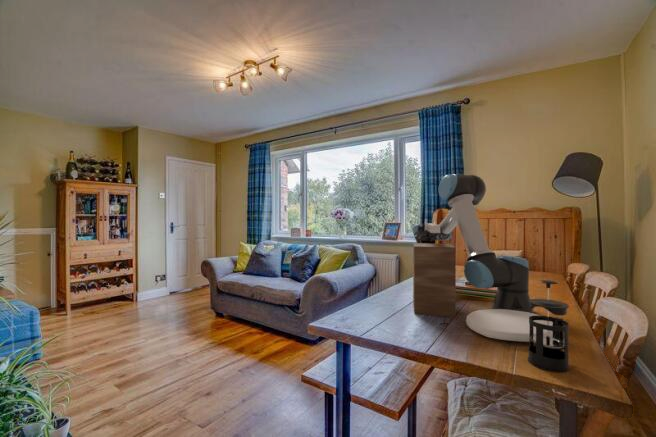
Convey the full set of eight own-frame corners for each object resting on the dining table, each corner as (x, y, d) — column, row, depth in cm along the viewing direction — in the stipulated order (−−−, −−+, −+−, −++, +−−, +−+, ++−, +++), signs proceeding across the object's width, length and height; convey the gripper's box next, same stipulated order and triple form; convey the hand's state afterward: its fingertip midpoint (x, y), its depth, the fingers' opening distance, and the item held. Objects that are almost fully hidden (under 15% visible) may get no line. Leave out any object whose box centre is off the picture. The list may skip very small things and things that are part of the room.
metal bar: (425, 229, 155) (425, 223, 155) (432, 229, 154) (432, 223, 154) (430, 232, 124) (430, 225, 124) (440, 233, 123) (440, 225, 123)
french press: (557, 376, 79) (557, 286, 79) (519, 361, 87) (519, 279, 87) (579, 365, 85) (579, 281, 85) (541, 352, 93) (542, 275, 93)
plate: (481, 331, 98) (455, 306, 124) (483, 351, 98) (457, 323, 124) (576, 324, 95) (529, 301, 122) (579, 345, 95) (531, 317, 122)
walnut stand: (413, 303, 145) (413, 243, 145) (449, 305, 141) (449, 243, 141) (414, 313, 129) (414, 246, 129) (455, 316, 126) (455, 247, 125)
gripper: (444, 249, 161) (450, 228, 141) (411, 248, 165) (412, 228, 145) (443, 236, 165) (449, 214, 145) (411, 236, 168) (412, 214, 149)
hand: (430, 221), depth 145 cm, fingers closed on metal bar, 3 cm apart
